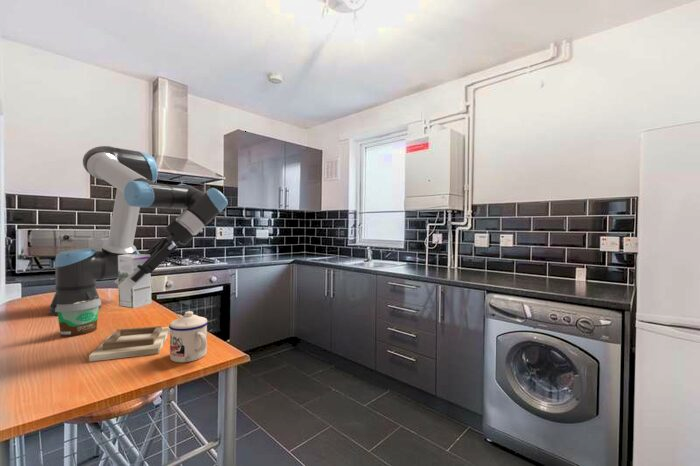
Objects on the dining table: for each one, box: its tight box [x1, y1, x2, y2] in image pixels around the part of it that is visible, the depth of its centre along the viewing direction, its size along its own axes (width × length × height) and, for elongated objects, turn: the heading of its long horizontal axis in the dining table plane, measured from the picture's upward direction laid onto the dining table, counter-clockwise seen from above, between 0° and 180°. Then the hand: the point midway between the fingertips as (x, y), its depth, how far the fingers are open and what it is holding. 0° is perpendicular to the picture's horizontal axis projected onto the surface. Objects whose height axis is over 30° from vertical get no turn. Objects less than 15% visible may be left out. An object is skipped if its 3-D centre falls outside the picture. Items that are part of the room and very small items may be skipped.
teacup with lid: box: [168, 310, 209, 363], centre depth 83 cm, size 12×9×12 cm
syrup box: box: [117, 253, 152, 309], centre depth 89 cm, size 6×6×14 cm
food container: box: [55, 296, 102, 338], centre depth 99 cm, size 12×6×10 cm, turn 168°
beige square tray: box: [88, 325, 170, 362], centre depth 90 cm, size 18×15×3 cm
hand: (120, 287), depth 87 cm, fingers closed on syrup box, 8 cm apart
